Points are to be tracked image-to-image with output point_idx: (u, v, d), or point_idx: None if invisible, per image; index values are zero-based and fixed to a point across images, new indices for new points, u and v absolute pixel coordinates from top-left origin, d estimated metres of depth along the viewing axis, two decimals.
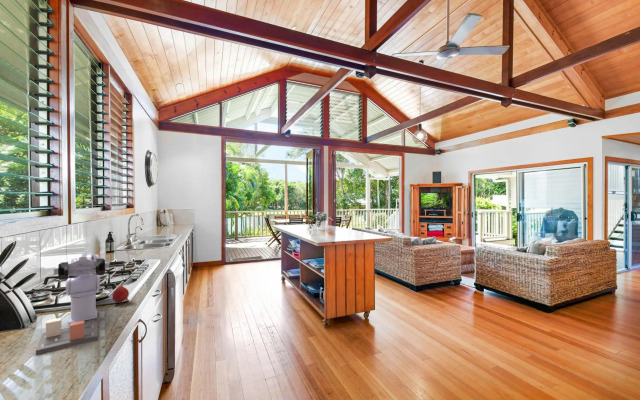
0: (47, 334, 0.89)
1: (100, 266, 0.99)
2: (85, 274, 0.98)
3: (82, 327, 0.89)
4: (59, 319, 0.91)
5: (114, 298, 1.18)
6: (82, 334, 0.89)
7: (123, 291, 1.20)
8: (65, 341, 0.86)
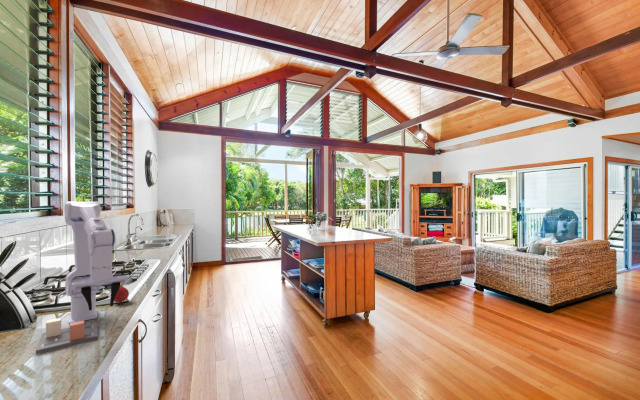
0: (47, 334, 0.89)
1: None
2: None
3: (82, 327, 0.89)
4: (59, 319, 0.91)
5: None
6: (82, 334, 0.89)
7: (123, 291, 1.20)
8: (65, 341, 0.86)
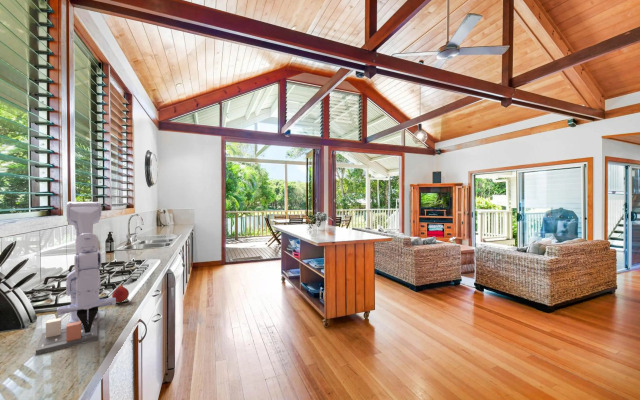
0: (47, 334, 0.89)
1: None
2: None
3: (78, 328, 0.88)
4: (59, 319, 0.91)
5: None
6: (79, 335, 0.88)
7: (123, 291, 1.20)
8: (65, 341, 0.86)
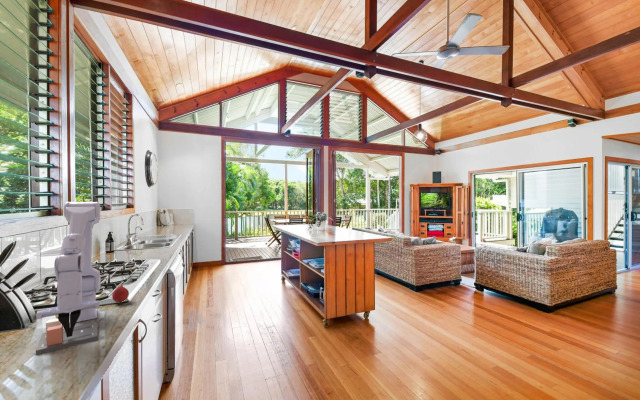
0: None
1: None
2: None
3: (60, 332, 0.85)
4: None
5: (114, 298, 1.18)
6: (60, 339, 0.85)
7: (123, 291, 1.20)
8: (65, 341, 0.86)
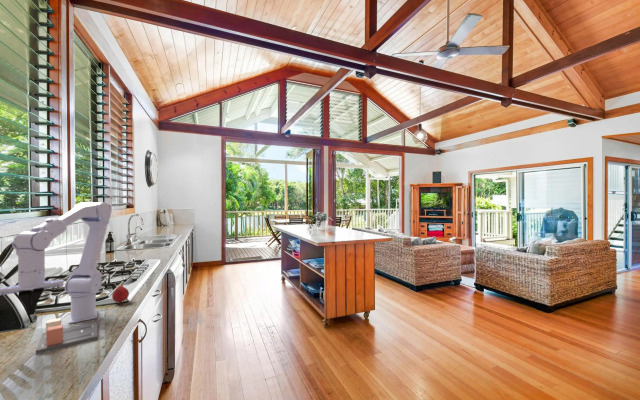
0: None
1: None
2: None
3: (59, 332, 0.85)
4: (59, 319, 0.91)
5: (114, 298, 1.18)
6: (60, 339, 0.85)
7: (123, 291, 1.20)
8: (65, 341, 0.86)
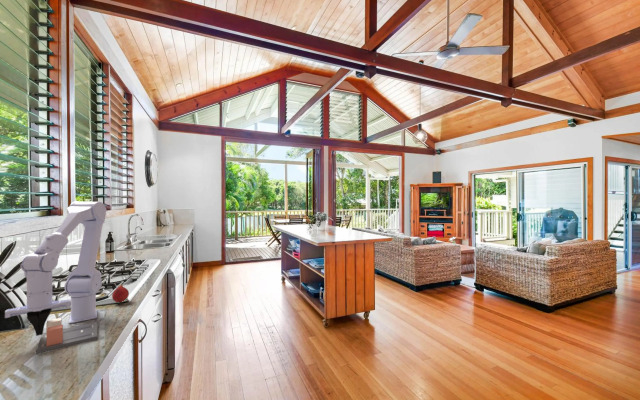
0: None
1: None
2: None
3: (59, 332, 0.85)
4: (59, 319, 0.91)
5: (114, 298, 1.18)
6: (60, 339, 0.85)
7: (123, 291, 1.20)
8: (65, 341, 0.86)
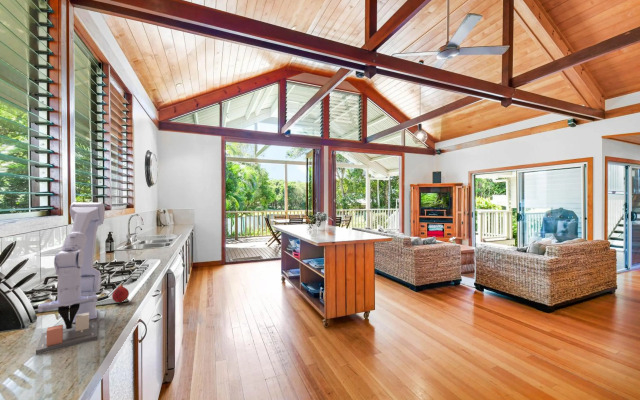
0: (77, 328, 0.93)
1: None
2: None
3: (59, 332, 0.85)
4: (87, 314, 0.96)
5: (114, 298, 1.18)
6: (60, 339, 0.85)
7: (123, 291, 1.20)
8: (65, 341, 0.86)
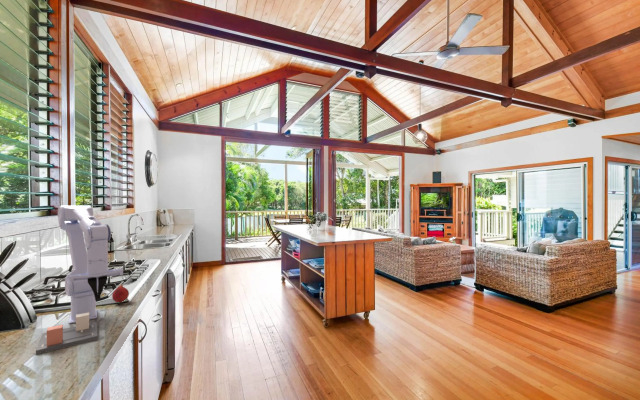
0: (77, 328, 0.93)
1: None
2: None
3: (59, 332, 0.85)
4: (87, 313, 0.96)
5: (114, 298, 1.18)
6: (60, 339, 0.85)
7: (123, 291, 1.20)
8: (65, 341, 0.86)
